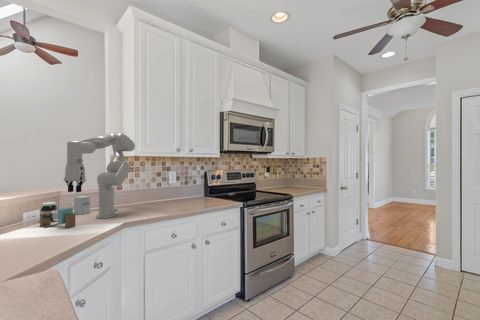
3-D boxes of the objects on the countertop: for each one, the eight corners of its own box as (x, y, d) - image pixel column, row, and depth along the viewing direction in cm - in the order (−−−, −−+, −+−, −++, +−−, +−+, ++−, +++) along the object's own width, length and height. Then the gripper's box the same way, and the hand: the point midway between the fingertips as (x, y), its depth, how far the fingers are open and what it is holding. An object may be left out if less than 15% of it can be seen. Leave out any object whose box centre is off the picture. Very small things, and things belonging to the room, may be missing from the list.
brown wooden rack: (36, 227, 140) (36, 214, 140) (51, 223, 148) (51, 211, 148) (64, 229, 136) (64, 216, 136) (78, 225, 145) (78, 212, 145)
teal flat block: (57, 224, 138) (57, 209, 138) (68, 220, 145) (68, 207, 145) (62, 224, 137) (62, 209, 137) (72, 221, 144) (72, 207, 144)
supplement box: (81, 214, 171) (81, 197, 171) (73, 214, 174) (73, 197, 174) (90, 212, 178) (90, 196, 178) (83, 212, 181) (83, 195, 181)
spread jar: (45, 218, 160) (45, 201, 160) (65, 217, 164) (65, 200, 164) (37, 223, 148) (37, 205, 148) (58, 221, 152) (58, 204, 152)
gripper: (92, 161, 142) (92, 191, 142) (68, 161, 145) (68, 190, 145) (81, 161, 135) (81, 193, 135) (56, 161, 138) (56, 192, 138)
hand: (74, 191), depth 140 cm, fingers open, 4 cm apart
